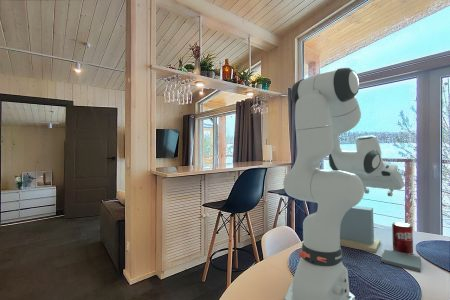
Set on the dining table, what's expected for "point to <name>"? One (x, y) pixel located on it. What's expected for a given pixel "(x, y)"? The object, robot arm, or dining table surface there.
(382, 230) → the dining table surface
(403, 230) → the soda can
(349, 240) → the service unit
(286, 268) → the dining table surface
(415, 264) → the pad
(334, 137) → the robot arm
